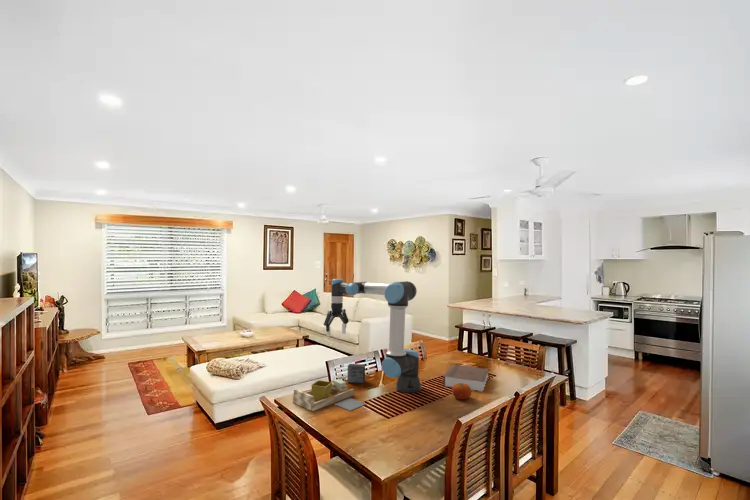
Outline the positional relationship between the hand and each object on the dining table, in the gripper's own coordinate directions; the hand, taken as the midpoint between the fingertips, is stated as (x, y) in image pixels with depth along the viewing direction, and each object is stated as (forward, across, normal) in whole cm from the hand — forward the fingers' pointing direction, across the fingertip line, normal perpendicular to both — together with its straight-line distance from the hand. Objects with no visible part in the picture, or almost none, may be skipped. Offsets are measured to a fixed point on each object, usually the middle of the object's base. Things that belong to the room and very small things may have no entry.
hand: (336, 334), depth 248 cm
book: (+28, -52, +67) cm, 89 cm away
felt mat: (+27, +26, +40) cm, 55 cm away
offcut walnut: (+28, +19, +24) cm, 41 cm away
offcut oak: (+25, +19, +24) cm, 39 cm away
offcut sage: (+22, +19, +24) cm, 38 cm away
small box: (+27, -2, +17) cm, 32 cm away
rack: (+27, +30, +24) cm, 47 cm away
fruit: (+28, -24, +78) cm, 87 cm away
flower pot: (+27, +32, +24) cm, 49 cm away
